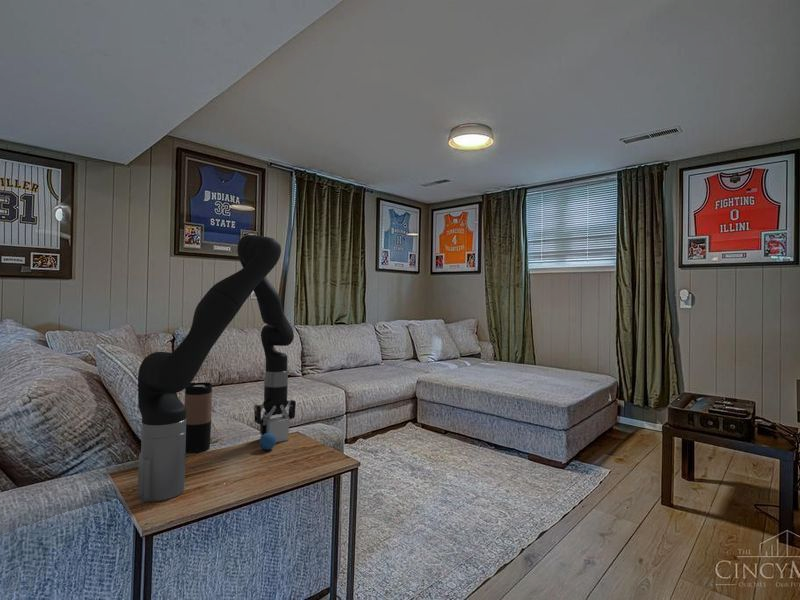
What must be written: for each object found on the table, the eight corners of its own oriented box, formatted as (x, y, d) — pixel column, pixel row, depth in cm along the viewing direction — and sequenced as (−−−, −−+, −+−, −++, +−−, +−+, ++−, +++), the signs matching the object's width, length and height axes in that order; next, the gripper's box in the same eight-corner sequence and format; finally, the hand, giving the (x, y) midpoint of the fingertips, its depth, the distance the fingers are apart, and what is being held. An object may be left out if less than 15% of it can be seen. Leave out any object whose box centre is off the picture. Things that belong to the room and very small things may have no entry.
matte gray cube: (269, 443, 136) (269, 422, 136) (260, 438, 141) (261, 418, 142) (288, 439, 141) (289, 419, 141) (279, 434, 146) (280, 415, 146)
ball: (263, 453, 128) (263, 436, 128) (256, 448, 131) (256, 432, 132) (278, 449, 131) (278, 433, 131) (271, 445, 135) (272, 430, 135)
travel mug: (185, 446, 132) (187, 382, 133) (212, 444, 135) (213, 382, 135) (180, 454, 125) (182, 387, 125) (208, 452, 127) (210, 386, 128)
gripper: (259, 388, 134) (258, 440, 134) (300, 383, 143) (299, 432, 143) (250, 384, 140) (249, 435, 139) (290, 380, 149) (289, 427, 149)
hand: (274, 433), depth 141 cm, fingers closed on matte gray cube, 7 cm apart
